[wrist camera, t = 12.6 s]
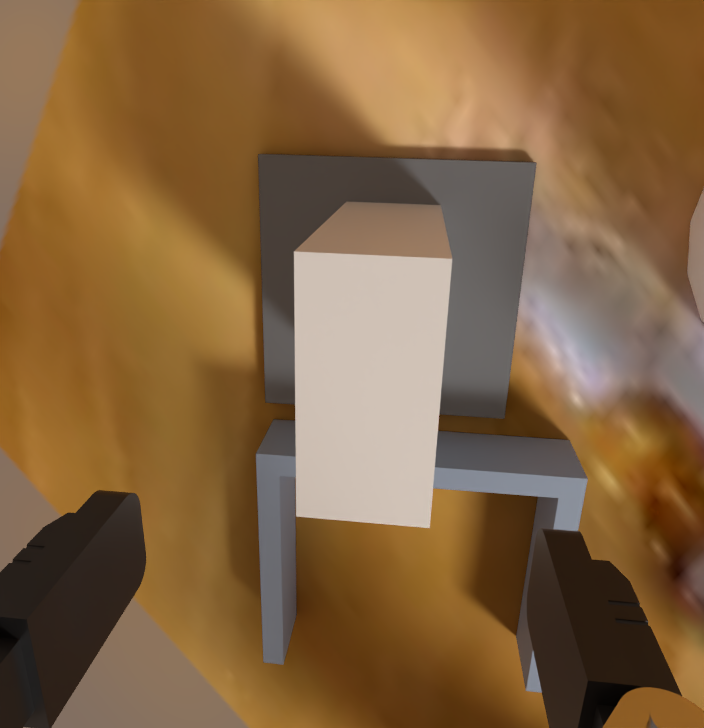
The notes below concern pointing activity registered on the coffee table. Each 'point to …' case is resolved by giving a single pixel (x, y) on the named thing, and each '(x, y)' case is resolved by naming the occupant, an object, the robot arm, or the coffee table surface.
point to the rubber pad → (466, 240)
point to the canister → (697, 255)
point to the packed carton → (370, 362)
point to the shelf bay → (452, 471)
